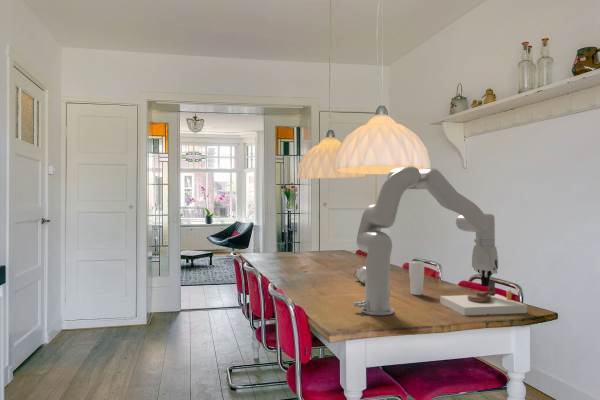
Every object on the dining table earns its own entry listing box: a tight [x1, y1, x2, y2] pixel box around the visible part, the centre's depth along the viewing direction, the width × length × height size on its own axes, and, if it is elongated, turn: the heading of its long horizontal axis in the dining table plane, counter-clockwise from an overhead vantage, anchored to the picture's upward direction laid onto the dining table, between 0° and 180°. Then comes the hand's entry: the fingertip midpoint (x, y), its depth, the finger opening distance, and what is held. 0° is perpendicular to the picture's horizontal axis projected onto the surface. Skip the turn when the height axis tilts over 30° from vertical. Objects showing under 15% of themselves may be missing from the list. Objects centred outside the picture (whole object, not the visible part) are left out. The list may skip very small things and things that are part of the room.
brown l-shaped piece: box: [467, 279, 496, 302], centre depth 183 cm, size 15×9×7 cm, turn 126°
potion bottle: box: [353, 265, 365, 285], centre depth 234 cm, size 9×10×15 cm
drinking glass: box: [408, 260, 425, 296], centre depth 207 cm, size 7×7×15 cm
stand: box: [439, 290, 528, 316], centre depth 182 cm, size 26×20×6 cm
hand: (485, 285), depth 190 cm, fingers closed
